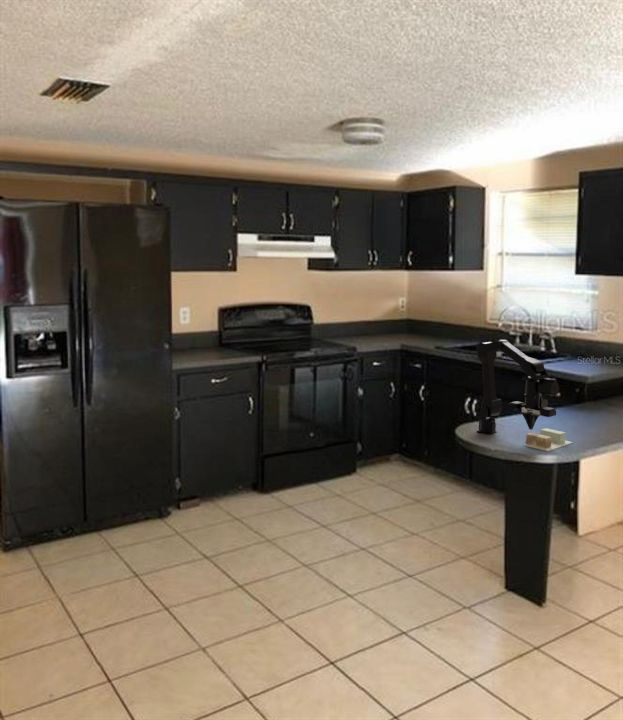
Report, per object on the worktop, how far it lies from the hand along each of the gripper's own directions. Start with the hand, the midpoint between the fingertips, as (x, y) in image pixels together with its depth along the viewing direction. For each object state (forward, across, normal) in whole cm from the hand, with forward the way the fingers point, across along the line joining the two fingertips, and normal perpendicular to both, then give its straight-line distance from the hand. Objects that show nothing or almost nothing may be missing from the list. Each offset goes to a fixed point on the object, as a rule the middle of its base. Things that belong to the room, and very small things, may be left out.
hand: (530, 429), depth 284 cm
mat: (+6, -5, -6) cm, 10 cm away
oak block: (+4, +1, 0) cm, 4 cm away
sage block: (+4, +1, -11) cm, 12 cm away
